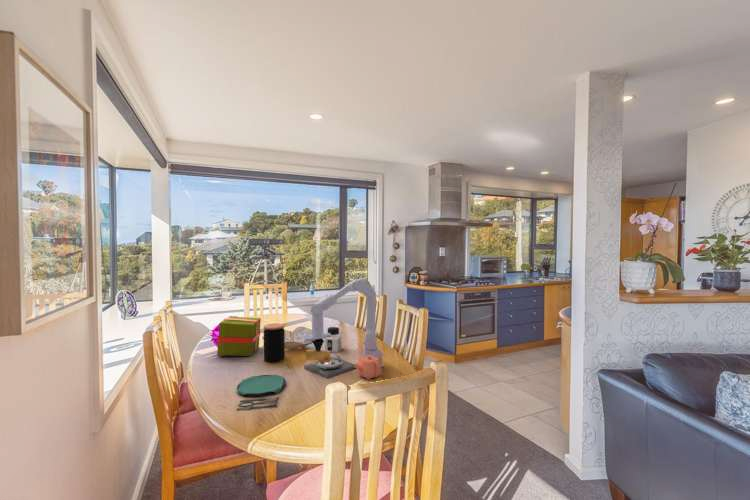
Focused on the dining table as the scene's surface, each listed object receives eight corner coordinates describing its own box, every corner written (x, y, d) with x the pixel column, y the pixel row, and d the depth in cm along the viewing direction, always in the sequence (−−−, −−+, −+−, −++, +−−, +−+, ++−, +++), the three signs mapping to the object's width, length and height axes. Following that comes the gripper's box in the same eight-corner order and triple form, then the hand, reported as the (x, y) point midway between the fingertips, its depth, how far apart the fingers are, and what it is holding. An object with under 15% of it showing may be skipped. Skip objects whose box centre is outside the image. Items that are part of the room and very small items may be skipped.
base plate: (356, 367, 170) (356, 364, 170) (327, 378, 157) (327, 374, 157) (332, 359, 182) (332, 356, 182) (304, 368, 169) (304, 365, 169)
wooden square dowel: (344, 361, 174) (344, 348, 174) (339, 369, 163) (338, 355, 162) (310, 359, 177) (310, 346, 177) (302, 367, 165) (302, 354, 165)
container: (337, 352, 195) (337, 329, 194) (324, 351, 196) (324, 328, 196) (341, 348, 202) (341, 326, 202) (329, 347, 204) (329, 325, 203)
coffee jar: (287, 356, 188) (287, 323, 187) (280, 363, 177) (280, 328, 177) (268, 355, 189) (268, 323, 189) (260, 362, 178) (260, 327, 178)
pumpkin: (354, 381, 153) (353, 359, 153) (359, 371, 165) (358, 351, 165) (380, 382, 152) (379, 360, 151) (383, 372, 163) (383, 352, 163)
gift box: (259, 353, 204) (215, 351, 202) (263, 317, 208) (220, 315, 206) (250, 358, 184) (201, 356, 182) (254, 318, 188) (207, 315, 186)
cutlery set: (287, 377, 159) (287, 372, 159) (282, 408, 129) (282, 402, 129) (241, 380, 155) (241, 375, 155) (225, 414, 126) (225, 408, 126)
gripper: (325, 323, 180) (325, 349, 181) (300, 328, 171) (301, 355, 171) (333, 325, 175) (333, 352, 175) (308, 330, 166) (308, 358, 166)
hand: (318, 354), depth 173 cm, fingers closed
